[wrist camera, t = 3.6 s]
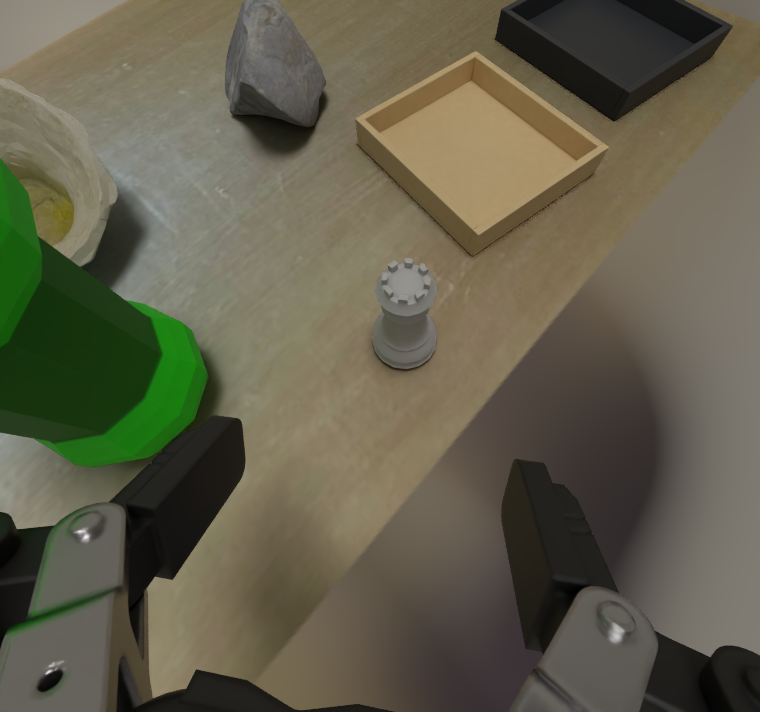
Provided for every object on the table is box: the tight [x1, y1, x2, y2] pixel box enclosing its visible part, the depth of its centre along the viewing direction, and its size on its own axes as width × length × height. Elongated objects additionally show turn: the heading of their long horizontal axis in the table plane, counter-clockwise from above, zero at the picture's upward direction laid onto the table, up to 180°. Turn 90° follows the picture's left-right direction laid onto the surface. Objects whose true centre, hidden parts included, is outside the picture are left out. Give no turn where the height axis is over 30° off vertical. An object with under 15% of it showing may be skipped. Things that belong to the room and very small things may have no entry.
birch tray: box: [355, 51, 609, 256], centre depth 32 cm, size 15×13×2 cm
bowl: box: [0, 78, 118, 267], centre depth 27 cm, size 15×14×10 cm
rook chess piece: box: [372, 258, 437, 369], centre depth 23 cm, size 4×4×8 cm
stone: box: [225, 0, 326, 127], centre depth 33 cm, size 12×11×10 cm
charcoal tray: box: [495, 0, 733, 121], centre depth 36 cm, size 15×13×2 cm
